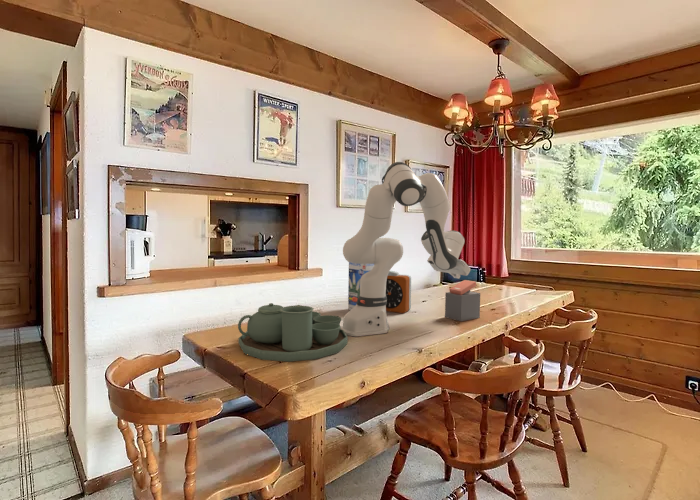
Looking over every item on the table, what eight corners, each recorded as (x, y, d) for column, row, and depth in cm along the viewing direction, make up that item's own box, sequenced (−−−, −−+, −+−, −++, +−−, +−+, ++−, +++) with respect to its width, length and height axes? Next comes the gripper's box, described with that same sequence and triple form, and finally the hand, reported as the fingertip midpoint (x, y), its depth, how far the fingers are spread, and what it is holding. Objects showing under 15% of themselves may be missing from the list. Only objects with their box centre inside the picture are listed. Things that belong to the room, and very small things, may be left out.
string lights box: (347, 309, 213) (347, 260, 212) (358, 307, 218) (358, 259, 217) (365, 314, 204) (365, 262, 202) (376, 311, 209) (376, 261, 207)
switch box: (461, 321, 189) (461, 295, 189) (445, 317, 198) (445, 292, 197) (479, 317, 197) (480, 293, 196) (463, 313, 205) (464, 290, 204)
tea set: (368, 345, 154) (368, 301, 152) (279, 372, 126) (279, 319, 125) (303, 325, 182) (303, 288, 181) (218, 344, 154) (217, 300, 153)
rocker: (462, 297, 191) (460, 290, 190) (450, 295, 197) (449, 288, 196) (477, 288, 197) (475, 281, 196) (465, 286, 202) (464, 279, 202)
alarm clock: (371, 309, 213) (372, 270, 212) (378, 306, 221) (378, 268, 220) (405, 313, 205) (406, 272, 203) (411, 310, 212) (411, 271, 211)
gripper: (464, 254, 181) (478, 274, 187) (431, 251, 198) (445, 269, 204) (457, 265, 179) (471, 285, 185) (424, 260, 196) (438, 279, 202)
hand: (457, 277), depth 195 cm, fingers closed
